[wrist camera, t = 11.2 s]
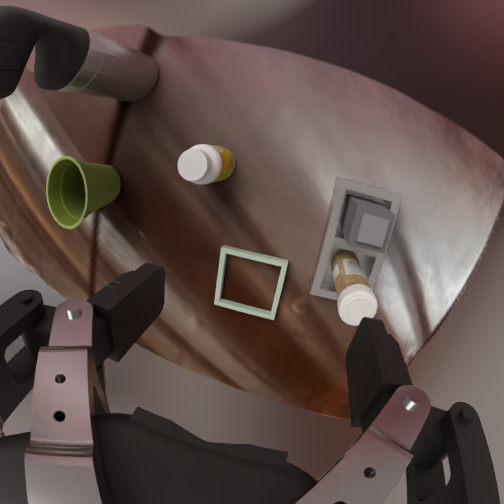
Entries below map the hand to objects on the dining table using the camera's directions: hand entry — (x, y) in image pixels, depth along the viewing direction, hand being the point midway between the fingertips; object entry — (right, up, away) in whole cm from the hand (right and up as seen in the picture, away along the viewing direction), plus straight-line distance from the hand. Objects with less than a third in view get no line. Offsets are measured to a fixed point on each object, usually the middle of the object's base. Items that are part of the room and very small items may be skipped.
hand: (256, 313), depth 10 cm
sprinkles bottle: (+14, 0, +30) cm, 33 cm away
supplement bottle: (-5, +16, +30) cm, 34 cm away
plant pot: (-27, +15, +35) cm, 47 cm away
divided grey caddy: (+15, +4, +29) cm, 33 cm away
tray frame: (0, -3, +35) cm, 35 cm away
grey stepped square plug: (+15, +8, +27) cm, 32 cm away
